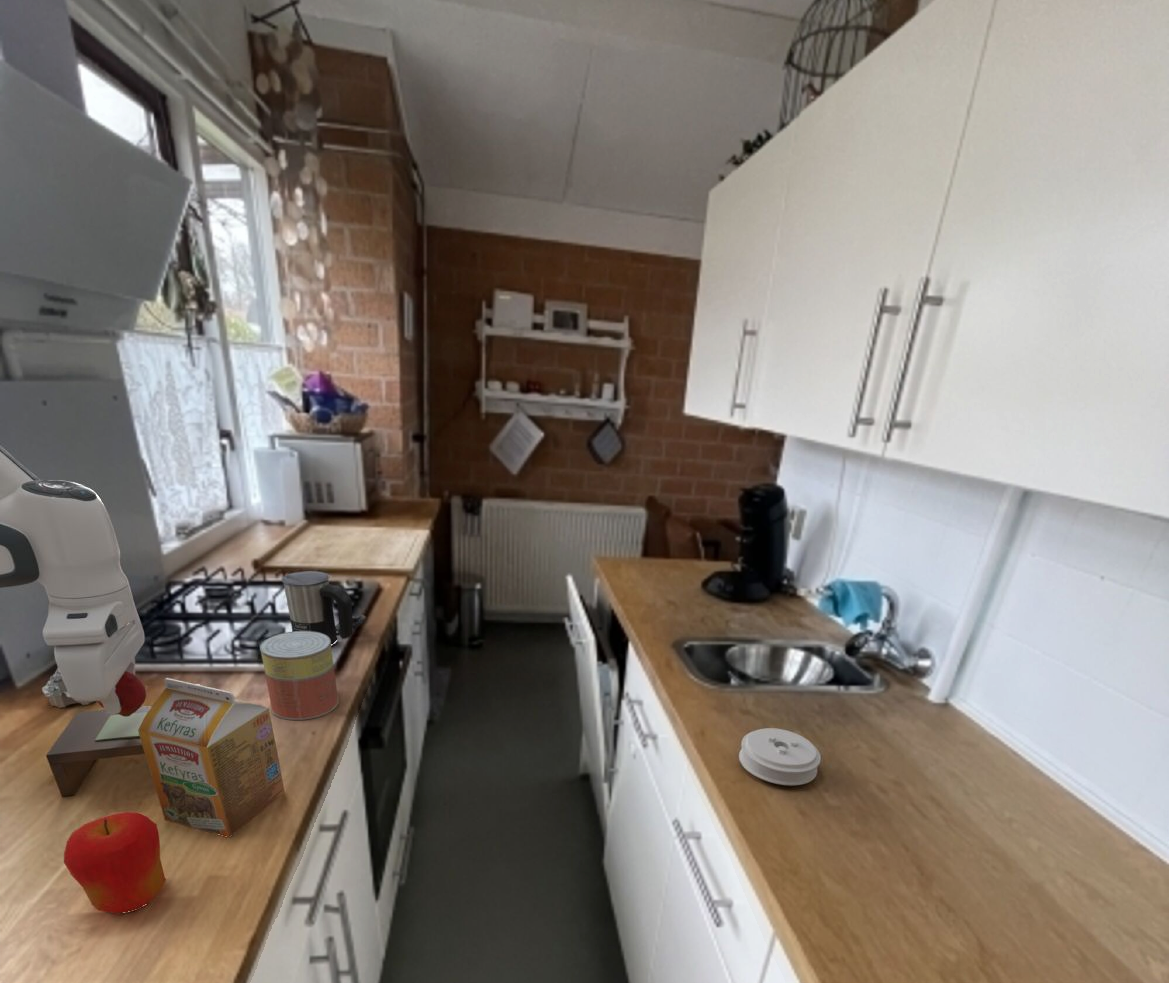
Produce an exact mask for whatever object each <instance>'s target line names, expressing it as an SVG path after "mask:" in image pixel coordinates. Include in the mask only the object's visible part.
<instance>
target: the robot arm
mask: <svg viewBox="0 0 1169 983" xmlns="http://www.w3.org/2000/svg"><path fill="white" fill-rule="evenodd" d="M120 549H121V548H120V546H119V542H118V539H117V535H116V532H115V528H114V525H113V523H112V521H111V517H110V515H109V513H108V510H107V508H106V507H105V504H104V502H103V500H101V498H100V497H99V495H98V494H97V493H96V492H95V491H94V490H93V489H92V488H90V487H87V486H85V485H84V484H81V483H77V482H74V481H68V480H62V479H40V477H38V476H37V475H35V473H33V472H32V471H31V470H29V468H27V467H26V466H25V465H23V464H22V463H21V462H20V461H19V460H18V459H16V458H15V457H14V455H12V454H10V453H9V451H7V450H6V449H5V448H4V447H3V446H1V445H0V589H1V588H2V589H3V588H11V587H19V586H24V585H29V584H31V583H37V584H40V585H41V586H43V587H44V590H45V593H46V595H47V599H48V601H49V604H48V606H47V608H48V611H47V612H48V613H47V617H46V621H45V624H44V625H43V628H42V637H43V640H44V642H45V644H46V645H47V646H50V647H51V646H54V648H53V649H54V650H53V653H54V659H55V663H56V666H57V668H58V669H59V672H60V674H61V677H62V679H63V682H64V684H65V686H66V689H67V691H68V693H69V695H70V696H71V697H72V698H73V699H74V700H75V701H77V702H91V701H93V702H98V701H100V702H101V703H102V704H103V707H104V708H103V707H102V708H103V710H105V712H106V713H108V714H115V713H119V712H120V711H121V709H122V707H123V704H122V700H121V697H118V696H117V695H116V693H115V690H116V687H115V686H116V684H117V683H118V681H119V680H120V678H121V677H122V675H123V674H124V672H125V671H127V672H130V673H132V674H134V675H135V676H136V658H135V657H136V656H137V654H138V653H139V652H140V650H141V648H142V646H144V644H145V639H146V638H145V632H144V628H143V625H142V621H141V619H140V616H139V614H138V610H137V608H136V604H135V601H134V597H133V593H132V590H131V585H130V582H129V579H128V577H127V575H126V574H125V573H124V571H123V569H122V566H121V560H120V559H121V550H120ZM91 703H92V702H91Z"/></svg>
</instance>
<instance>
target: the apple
mask: <svg viewBox="0 0 1169 983" xmlns="http://www.w3.org/2000/svg"><path fill="white" fill-rule="evenodd" d="M63 864H64V865H65V867H66V869H67V871H68V873H69V874H70V875H71V877H72V878H73V879H74V880H75V881H77V883H78V884H79V885H80V887H81V888H82V889H83V891H84V893H85V895H86V897H87V898H88V900H89V902H90V904H91V906H93V907H94V908H95V909H96V910H97V911H99V912H104V913H105V912H106V913H111V912H112V913H111V914H116V913H122V914H124V913H123V912H128V911H132V910H135V909H138V908H140V907H142V906H143V905H145V904H147V905H149V904H150V903H151V902H152V901H153V900H154V899H155V897H156V896H157V894H158V893H159V892H160V891H161V889H162V888H163V886H164V884H165V881H166V876H165V872H164V868H163V863H162V861H161V842H160V832H159V828H158V824H156V823H155V822H154V821H153V820H152V819H151V818H149V817H148V815H145V814H143V813H141V812H134V811H124V812H118V813H111V814H109V815H105V816H103V817H99V818H97V819H94V820H92V821H90V822H87V823H84V824H82V825H81V826H80V827H78V828H77V829H75V830H74V831H73V832H71V834H70V836H69V837H68V839H67V841H66V843H65V848H64V851H63ZM153 898H154V899H153ZM152 899H153V900H152ZM151 900H152V901H151ZM150 901H151V902H150ZM142 908H143V907H142ZM140 909H141V908H140ZM138 910H139V909H138ZM135 911H136V910H135ZM132 912H133V911H132Z"/></svg>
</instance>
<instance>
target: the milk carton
mask: <svg viewBox="0 0 1169 983" xmlns="http://www.w3.org/2000/svg"><path fill="white" fill-rule="evenodd" d="M163 682H164V686H165V688H164V690H163V691H162V692H161V693H160V695H158V697H157V699H155V701H154V703H153V704H152V705H151V706H152V707H151V708H150V710H149V711H148V713H147V714H146V716H145V717H144V719H143V721H142V723H141V725H140V727H139V729H138V732H139V736H140V739H141V742H142V746H143V749H144V752H145V754H144V755H145V759H146V762H147V765H148V769H149V772H150V775H151V778H152V782H153V785H154V788H155V789H154V790H155V791H156V794H157V799H158V802H159V805H160V808H161V812H162V815H163V818H164V820H165V821H169V822H172V823H174V824H175V823H176V824H179V825H182V826H186V827H190V828H193V829H197V830H200V831H202V832H203V831H204V832H208V833H210V832H211V833H210V834H214V833H215V834H214V835H217V834H220V835H219V836H221V835H223V836H222V837H224V836H227V837H226V838H228V837H230V836H231V835H233V834H234V833H235V832H236V833H238V832H239V831H240V830H241V829H243V828H244V827H245V826H246V825H248V824H249V823H250V822H251V821H252V820H253V819H255V818H256V817H257V816H259V815H260V814H261V813H262V812H263V811H264V810H266V809H268V807H269V806H270V805H272V804H273V803H275V801H277V800H278V799H279V798H280V797H281V796H283V795H284V794H285V793H286V792H285V785H284V781H283V775H282V771H281V765H280V759H279V755H278V754H279V753H278V749H277V743H276V739H275V738H276V737H275V734H274V727H273V722H272V717H271V712H270V708H269V707H267V706H265V705H262V704H260V703H257V702H256V703H255V702H250V701H247V700H241V699H237V698H235V694H234V693H233V692H231V691H228V690H223V689H218V688H215V687H211V686H205V685H201V684H200V685H197V684H198V683H191V682H187V681H184V680H179V679H174V678H170V677H165V678H164V680H163ZM260 812H261V813H260ZM249 821H250V822H249ZM239 829H240V830H239ZM237 831H238V832H237ZM236 833H235V834H236ZM235 834H234V835H235ZM234 835H233V836H234ZM231 837H232V836H231ZM231 837H230V838H231Z"/></svg>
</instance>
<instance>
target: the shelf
mask: <svg viewBox="0 0 1169 983" xmlns="http://www.w3.org/2000/svg"><path fill="white" fill-rule="evenodd" d="M196 684H197V685H201V683H196ZM151 707H152V705H142V706H141V707H140V708H139V709H138V710H137V711H136V712H134V713H133V714H131V715H130V716H128V717H124V716H121V715H119V714H116V713H115V714H108V713H106V712H105V710H104V709H98V710H97V709H96V710H86V711H85V710H84V711H76V713H75V714H74V715H73V717H72V718H71V720H70V721H69V722H68V724H67V725H66V726H65V727H64V729H63V731H62V732H61V734H60V735H59V736H58V738H56V740H55V742H54V743H53V744H52V746H51V747H50V748H49V750H48V752H46V754H45V757H46V759H47V762H48V765H49V768H50V770H51V773H52V775H53V777H54V780H55V783H56V785H57V788H58V790H59V793H60V796H61V797H62V798H64V797H74V796H75V795H76V794H77V792H78V790H79V788H80V787H81V785H82V784H83V782H84V780H85V778H86V777H87V776H88V773H89V772H90V771H91V768H92V767H93V765H94V763H95V762H96V760H102V759H110V758H111V759H112V758H121V757H128V756H129V757H130V756H139V755H145V752H144V749H143V746H142V742H141V739H140V736H139V732H138V729H139V727H140V725H141V723H142V721H143V719H144V717H145V716H146V714H147V713H148V711H149V710H150V708H151Z"/></svg>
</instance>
